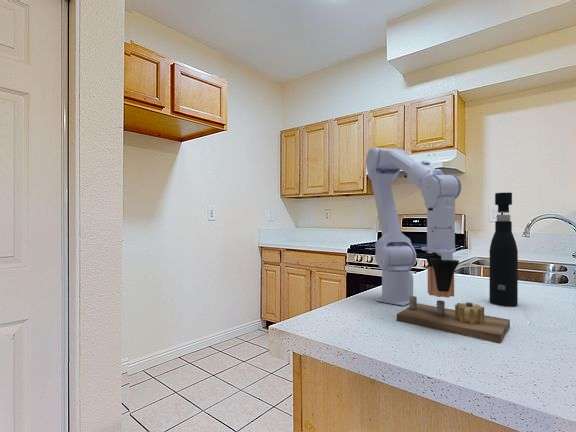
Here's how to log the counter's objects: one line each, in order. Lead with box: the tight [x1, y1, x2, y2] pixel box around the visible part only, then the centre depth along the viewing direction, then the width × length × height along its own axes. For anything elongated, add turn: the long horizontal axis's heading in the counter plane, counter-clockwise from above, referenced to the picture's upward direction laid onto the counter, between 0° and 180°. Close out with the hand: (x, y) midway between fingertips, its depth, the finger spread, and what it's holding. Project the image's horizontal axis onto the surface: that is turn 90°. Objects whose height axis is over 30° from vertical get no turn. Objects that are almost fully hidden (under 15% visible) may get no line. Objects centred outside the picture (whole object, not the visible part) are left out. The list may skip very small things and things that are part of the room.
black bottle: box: [488, 192, 519, 308], centre depth 88 cm, size 6×6×30 cm
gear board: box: [396, 295, 511, 344], centre depth 72 cm, size 12×20×5 cm, turn 49°
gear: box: [427, 266, 455, 298], centre depth 73 cm, size 5×5×6 cm
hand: (440, 288), depth 73 cm, fingers closed on gear, 5 cm apart
